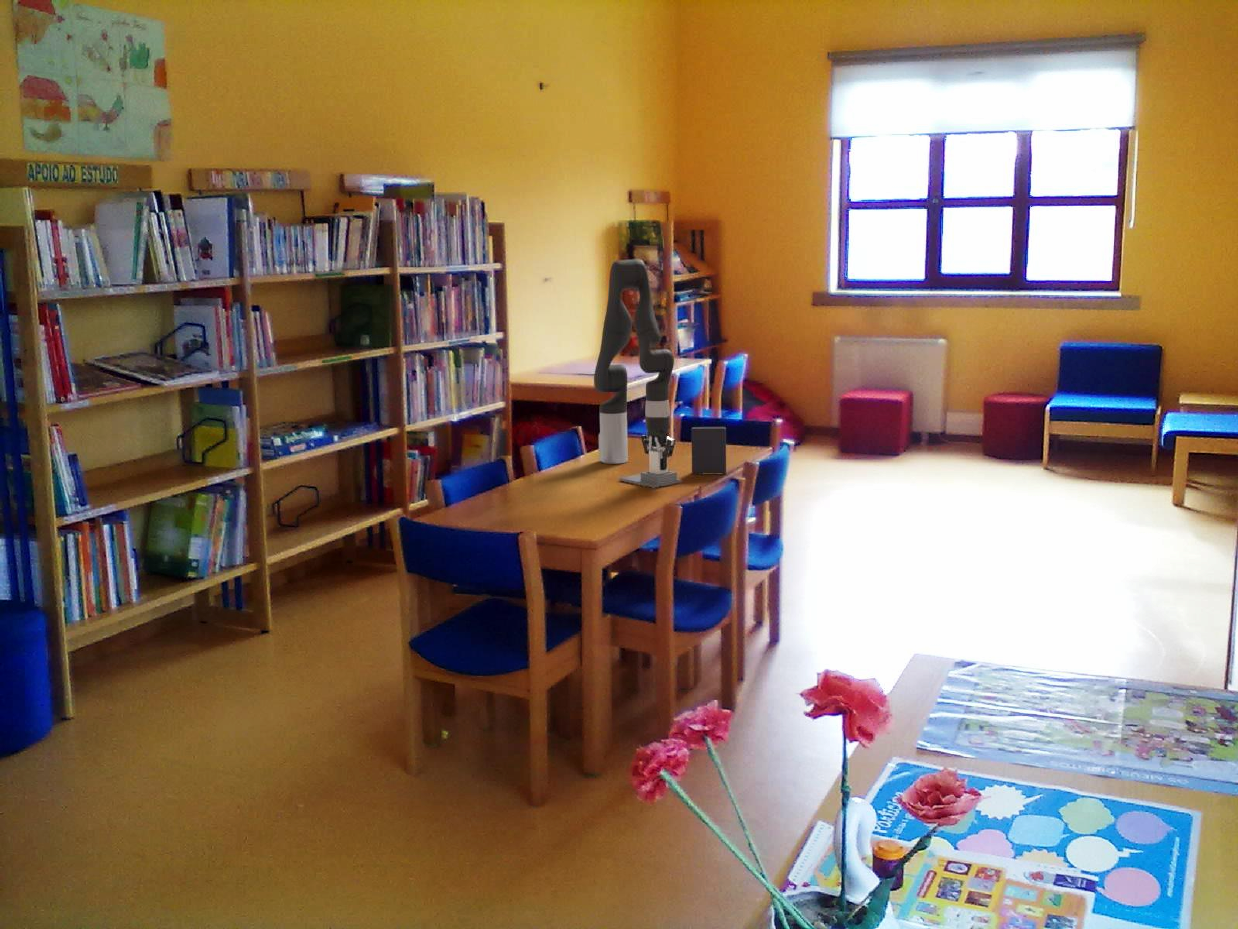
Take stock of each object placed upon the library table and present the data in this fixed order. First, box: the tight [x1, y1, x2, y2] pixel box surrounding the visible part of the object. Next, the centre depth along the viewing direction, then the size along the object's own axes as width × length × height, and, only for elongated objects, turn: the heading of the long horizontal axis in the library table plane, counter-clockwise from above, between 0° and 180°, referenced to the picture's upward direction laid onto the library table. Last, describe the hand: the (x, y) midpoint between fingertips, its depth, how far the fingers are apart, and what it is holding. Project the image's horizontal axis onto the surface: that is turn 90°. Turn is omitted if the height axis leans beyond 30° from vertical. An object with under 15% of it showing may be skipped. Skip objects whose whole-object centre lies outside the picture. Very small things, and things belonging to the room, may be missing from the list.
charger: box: [648, 448, 669, 475], centre depth 373 cm, size 4×4×8 cm
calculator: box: [690, 426, 727, 475], centre depth 386 cm, size 11×4×15 cm, turn 84°
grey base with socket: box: [618, 470, 682, 489], centre depth 377 cm, size 16×12×4 cm
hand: (658, 468), depth 373 cm, fingers closed on charger, 3 cm apart
